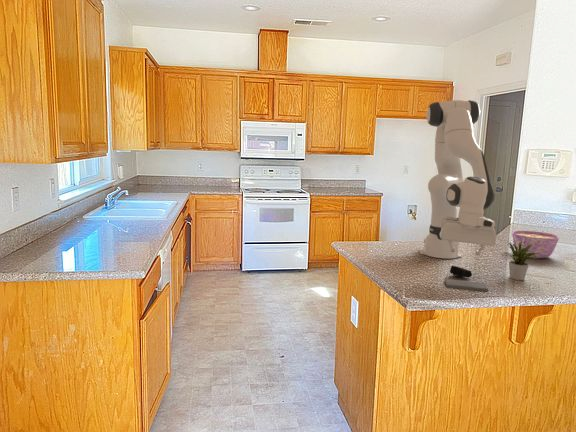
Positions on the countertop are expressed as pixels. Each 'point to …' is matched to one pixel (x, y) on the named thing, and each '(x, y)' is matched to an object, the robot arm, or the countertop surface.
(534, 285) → the countertop surface
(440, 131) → the robot arm
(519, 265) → the house plant
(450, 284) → the gray rectangular block
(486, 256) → the countertop surface
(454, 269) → the tape measure
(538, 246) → the bowl of food
